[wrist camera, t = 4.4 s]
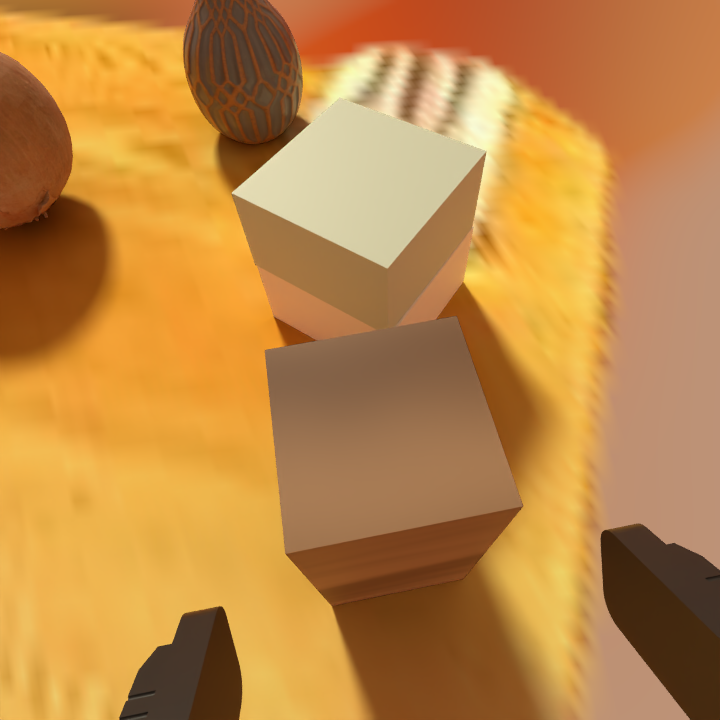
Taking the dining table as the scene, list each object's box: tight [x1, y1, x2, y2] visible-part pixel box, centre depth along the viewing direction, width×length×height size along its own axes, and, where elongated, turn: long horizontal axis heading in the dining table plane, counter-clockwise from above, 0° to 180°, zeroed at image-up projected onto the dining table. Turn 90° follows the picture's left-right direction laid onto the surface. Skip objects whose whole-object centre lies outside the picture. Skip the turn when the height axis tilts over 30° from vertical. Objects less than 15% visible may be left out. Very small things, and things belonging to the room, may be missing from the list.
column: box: [265, 316, 523, 606], centre depth 16 cm, size 5×5×10 cm
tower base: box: [257, 226, 473, 341], centre depth 25 cm, size 7×7×4 cm
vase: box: [183, 0, 303, 144], centre depth 30 cm, size 7×7×9 cm
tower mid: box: [232, 98, 486, 330], centre depth 21 cm, size 7×7×4 cm
